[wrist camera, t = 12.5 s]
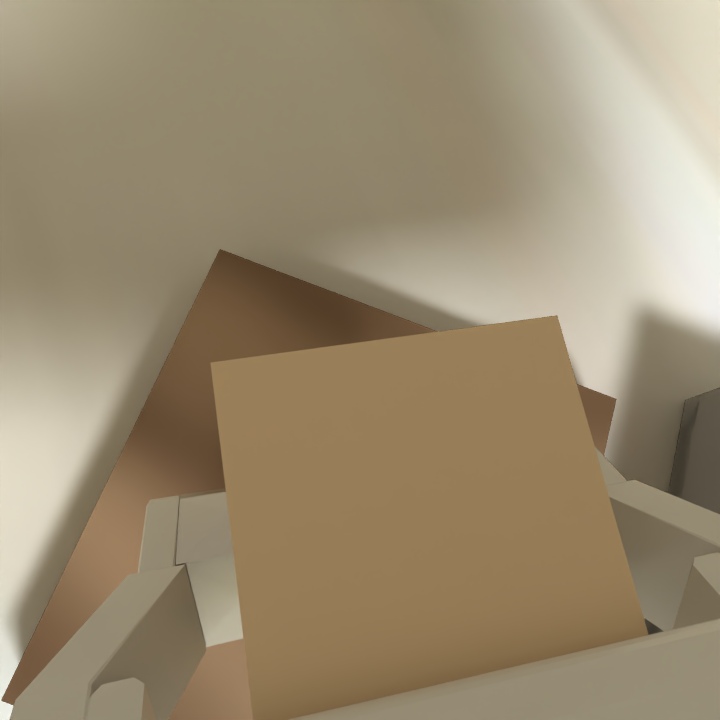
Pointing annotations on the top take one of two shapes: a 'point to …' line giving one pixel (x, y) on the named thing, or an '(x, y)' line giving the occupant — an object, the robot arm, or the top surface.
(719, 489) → the tray
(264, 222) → the top surface
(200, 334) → the walnut pad
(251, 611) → the carton
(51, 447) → the top surface
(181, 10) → the top surface
